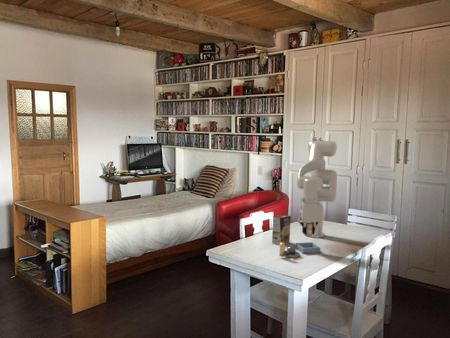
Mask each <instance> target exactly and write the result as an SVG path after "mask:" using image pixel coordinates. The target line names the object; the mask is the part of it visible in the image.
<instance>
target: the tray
mask: <svg viewBox="0 0 450 338" xmlns="http://www.w3.org/2000/svg"><path fill="white" fill-rule="evenodd" d="M295 247H296V250H297V251H298V252H299V253H301V254H302V255H304V254H306V255H310V254H321V247H320V246H318V245H317V244H316V243H314V242H313V241H312V242H295Z"/></svg>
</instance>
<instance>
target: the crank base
mask: <svg viewBox="0 0 450 338" xmlns="http://www.w3.org/2000/svg"><path fill="white" fill-rule="evenodd" d="M300 253H301V252H300V251H295V254H287V255H285V256H284V257H285V258H290V259H293V260H294V261H299V258H300V257H301V256H300V255H301V254H300Z"/></svg>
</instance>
